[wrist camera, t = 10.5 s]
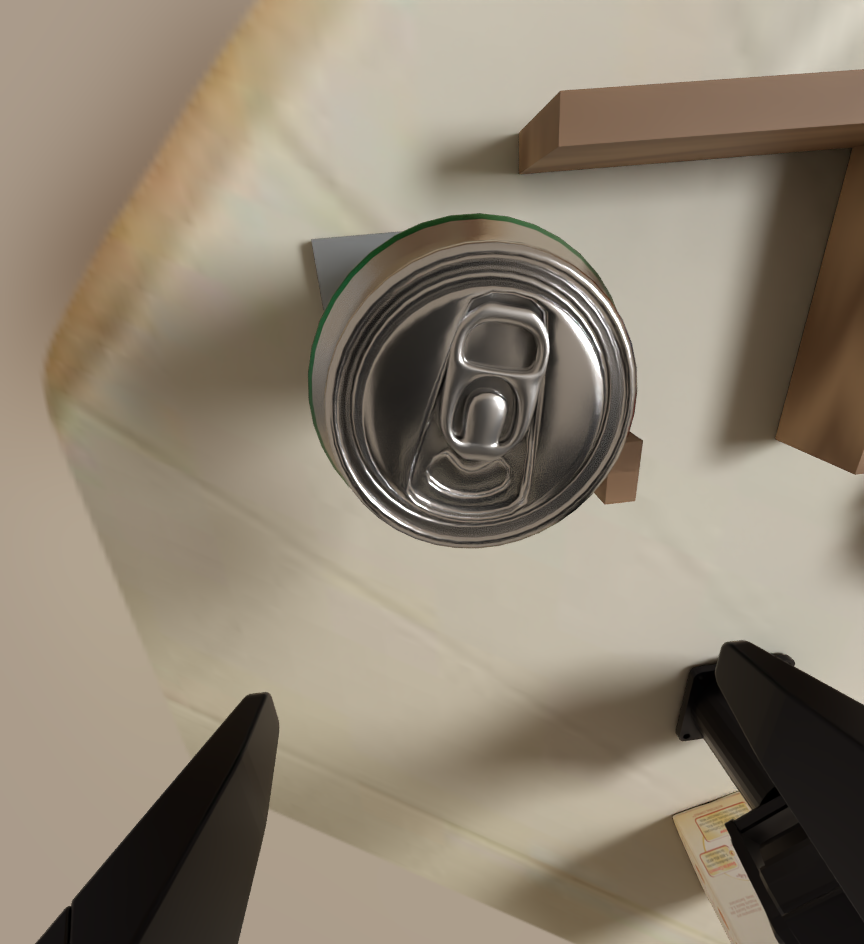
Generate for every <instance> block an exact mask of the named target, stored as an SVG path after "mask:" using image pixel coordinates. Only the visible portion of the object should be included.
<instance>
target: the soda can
mask: <svg viewBox="0 0 864 944" xmlns="http://www.w3.org/2000/svg"><path fill="white" fill-rule="evenodd" d="M308 391H309V404H310V409H311V414H312V419H313V424H314V427H315V430H316V432H317V435H318V438H319V441H320V443H321V446H322V448H323V450H324V452H325V453H326V455H327V457H328V459H329V461H330V462H331V464H332V466H333V468H334V469H335V470H336V471H337V473H338V474H339V475H340V476H341V478H342V479H343V480H344V481H345V483H346V484H347V485H348V486H349V487H350V488H351V489H352V491H353V492H354V493H355V494H356V496H357V497H358V498H359V499H360V501H361V502H362V503H363V504H364V505H365V506H366V507H367V508H368V509H369V510H370V511H372V512H373V513H374V514H375V515H376V516H377V517H378V518H379V519H381V520H382V521H384V522H385V523H387V524H388V525H390V526H391V527H393V528H394V529H396V530H398V531H400V532H402V533H404V534H406V535H409V536H411V537H413V538H415V539H418V540H421V541H425V542H428V543H431V544H435V545H440V546H447V547H453V548H484V547H493V546H500V545H504V544H508V543H512V542H516V541H519V540H522V539H525V538H527V537H530V536H532V535H535V534H537V533H540V532H542V531H543V530H545V529H547V528H549V527H551V526H553V525H554V524H556V523H558V522H559V521H561V520H562V519H564V518H565V517H566V516H568V515H569V514H571V513H572V512H573V511H575V510H576V509H577V508H578V507H579V506H580V505H581V504H582V503H584V502H585V501H586V500H587V499H588V498H589V497H590V496H591V495H592V494H593V493H594V492H595V490H596V489H597V488H598V487H599V486H600V484H601V483H602V482H603V481H604V479H605V478H606V477H607V475H608V474H609V472H610V471H611V469H612V467H613V466H614V464H615V463H616V461H617V459H618V458H619V455H620V453H621V451H622V449H623V447H624V444H625V442H626V440H627V438H628V435H629V431H630V427H631V424H632V420H633V417H634V412H635V404H636V396H637V367H636V362H635V357H634V352H633V347H632V343H631V340H630V337H629V335H628V332H627V329H626V327H625V324H624V322H623V320H622V318H621V316H620V315H619V313H618V311H617V310H616V307H615V304H614V302H613V299H612V297H611V295H610V293H609V292H608V290H607V288H606V286H605V285H604V283H603V281H602V280H601V278H600V276H599V275H598V273H597V272H596V271H595V270H594V269H593V268H592V267H591V265H590V264H589V263H588V262H587V261H586V260H585V259H584V257H583V256H582V255H581V254H580V253H578V252H577V251H576V250H575V249H573V248H572V247H571V246H570V245H568V244H567V243H566V242H565V241H563V240H562V239H561V238H559V237H558V236H556V235H554V234H552V233H550V232H548V231H546V230H544V229H542V228H540V227H538V226H536V225H534V224H531V223H528V222H524V221H521V220H518V219H515V218H511V217H508V216H499V215H490V214H481V213H477V214H463V215H450V216H446V217H442V218H438V219H435V220H431V221H427V222H423V223H420V224H418V225H416V226H414V227H411V228H409V229H407V230H405V231H403V232H401V233H398V234H396V235H394V236H393V237H391V238H390V239H388V240H387V241H386V242H384V243H383V244H381V245H380V246H378V247H377V248H375V249H374V250H372V251H371V252H370V253H369V254H368V255H367V256H366V257H365V258H364V259H363V260H362V261H361V262H360V263H359V264H357V265H356V266H355V267H354V268H353V269H352V270H351V271H350V272H349V274H348V275H347V276H346V278H345V279H344V280H343V282H342V283H341V285H340V286H339V287H338V289H337V290H336V291H335V293H334V294H333V296H332V297H331V299H330V301H329V303H328V305H327V307H326V309H325V311H324V313H323V315H322V317H321V319H320V322H319V325H318V328H317V331H316V335H315V338H314V341H313V345H312V348H311V356H310V363H309V370H308Z"/></svg>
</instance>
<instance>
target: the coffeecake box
mask: <svg viewBox="0 0 864 944" xmlns="http://www.w3.org/2000/svg"><path fill="white" fill-rule="evenodd" d="M749 811H751V808H750V807H749V805H748V804H747V802H746V801H745V799H744V798H743V796H742V795H741V793H740V792H739V791H738V792H735V793H732V794H730V795H727V796H725V797H722V798H720V799H718V800H715V801H713V802H710V803H708V804H705V805H701V806H698V807H695V808H693V809H690V810H687V811H684V812H681V813H678V814H676V815H674V816H673V820H674V823H675V825H676V828H677V830H678V833H679V835H680V838H681V840H682V842H683V844H684V847H685V849H686V851H687V854H688V856H689V858H690V861H691V863H692V865H693V867H694V870H695V872H696V874H697V876H698V879H699V881H700V883H701V885H702V888H703V890H704V892H705V894H706V895H707V897H708V899H709V901H710V903H711V905H712V907H713V909H714V911H715V913H716V915H717V917H718V919H719V921H720V923H721V925H722V927H723V929H724V930H725V932H726V934H727V936H728V938H729V940H730V942H731V944H779V943H778V941H777V940H776V938H775V936H774V934H773V931H772V928H771V926H770V923H769V920H768V918H767V915H766V912H765V910H764V908H763V906H762V904H761V902H760V900H759V898H758V896H757V894H756V892H755V890H754V888H753V886H752V884H751V882H750V880H749V878H748V876H747V874H746V872H745V870H744V868H743V866H742V863H741V861H740V859H739V857H738V855H737V853H736V851H735V849H734V847H733V845H732V843H731V837H730V835H729V833H728V831H727V829H726V827H725V825H724V823H726V822H728V821H729V820H731V819H734V820H736V819H737V818H739V817H741V816H742V815H744V814H746V813H748V812H749Z"/></svg>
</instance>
